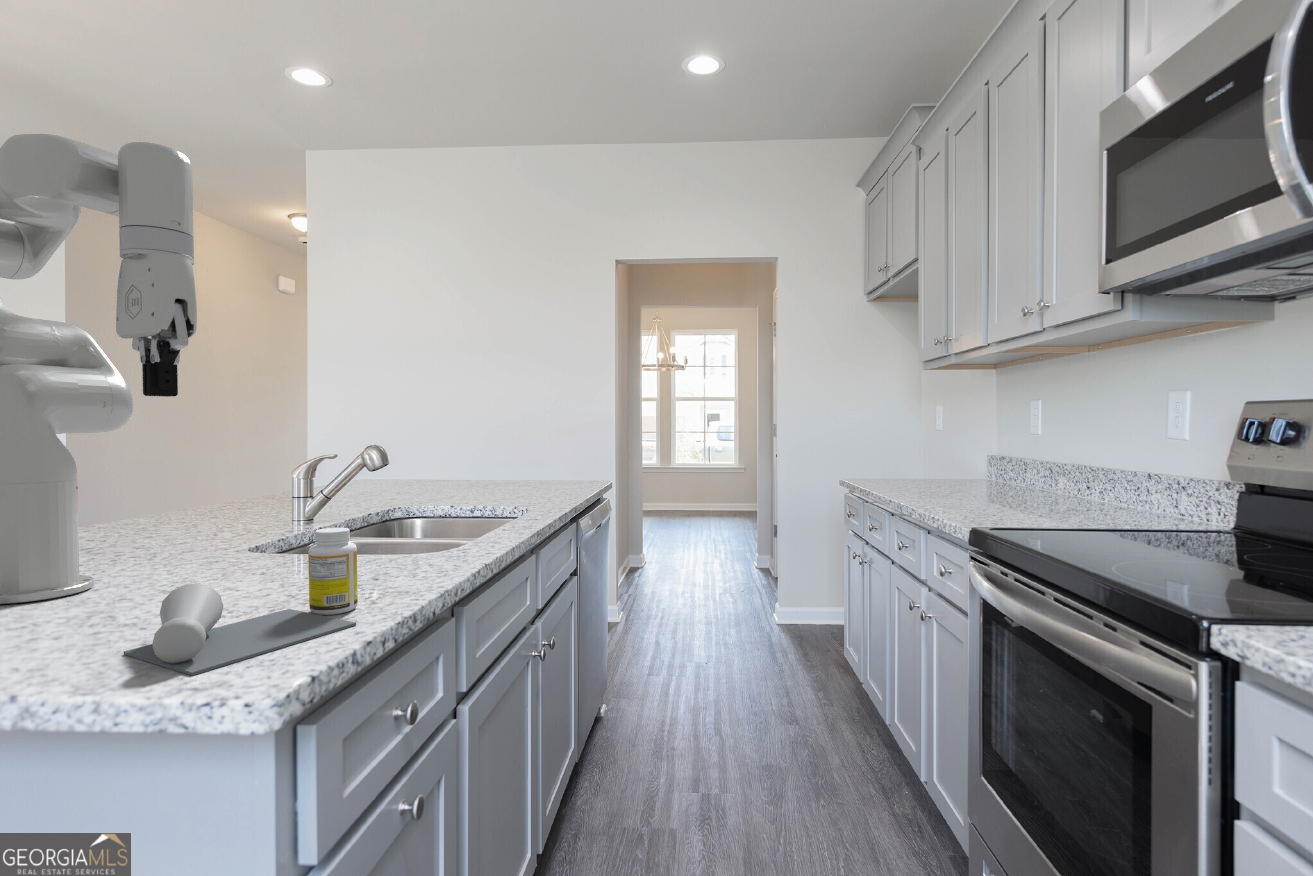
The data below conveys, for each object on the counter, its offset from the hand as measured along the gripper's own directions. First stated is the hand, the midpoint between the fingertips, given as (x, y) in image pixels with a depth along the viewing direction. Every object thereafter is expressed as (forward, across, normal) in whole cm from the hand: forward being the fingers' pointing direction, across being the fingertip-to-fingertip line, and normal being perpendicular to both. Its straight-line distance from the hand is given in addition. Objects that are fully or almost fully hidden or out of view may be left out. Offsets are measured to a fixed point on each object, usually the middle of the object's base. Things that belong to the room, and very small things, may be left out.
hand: (160, 395), depth 86 cm
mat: (+27, +21, -2) cm, 34 cm away
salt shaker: (+24, +13, -3) cm, 27 cm away
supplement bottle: (+27, +19, +10) cm, 35 cm away
